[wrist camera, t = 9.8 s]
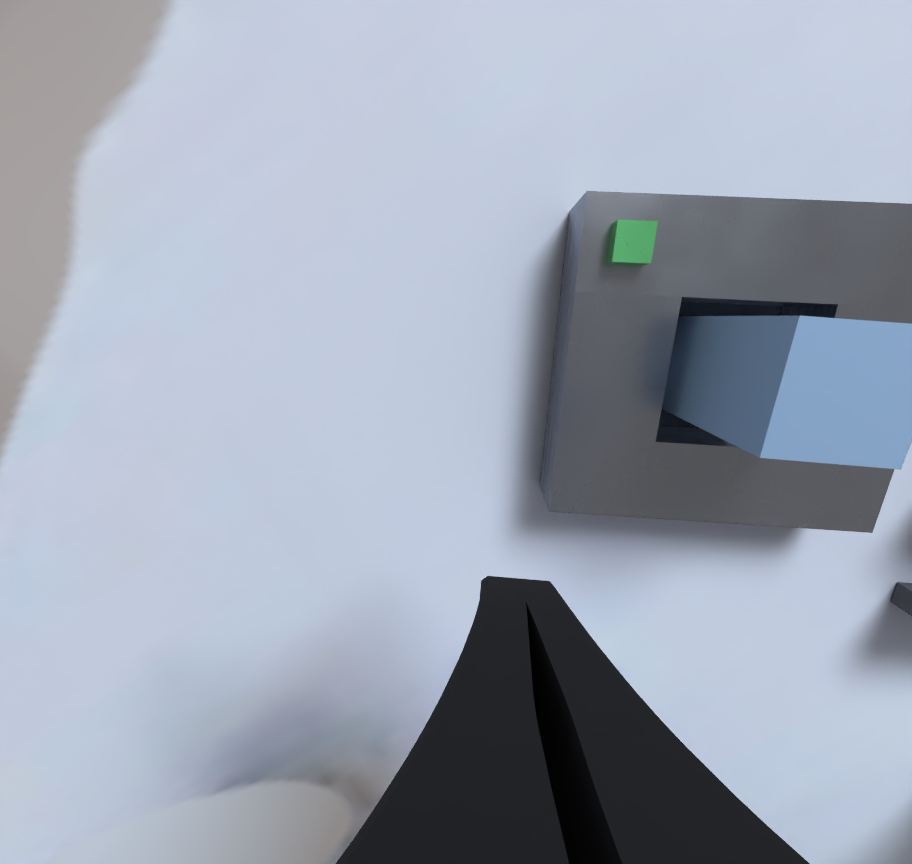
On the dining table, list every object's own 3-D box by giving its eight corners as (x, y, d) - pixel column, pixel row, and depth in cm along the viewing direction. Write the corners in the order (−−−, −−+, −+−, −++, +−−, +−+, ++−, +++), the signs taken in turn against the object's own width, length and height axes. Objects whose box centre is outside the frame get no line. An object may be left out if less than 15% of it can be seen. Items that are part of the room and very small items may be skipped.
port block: (817, 502, 18) (887, 540, 15) (539, 485, 19) (552, 518, 15) (901, 225, 15) (1010, 201, 12) (569, 211, 16) (592, 185, 13)
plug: (736, 409, 17) (900, 469, 11) (650, 403, 17) (759, 457, 11) (758, 322, 16) (954, 326, 10) (667, 316, 16) (799, 315, 10)
